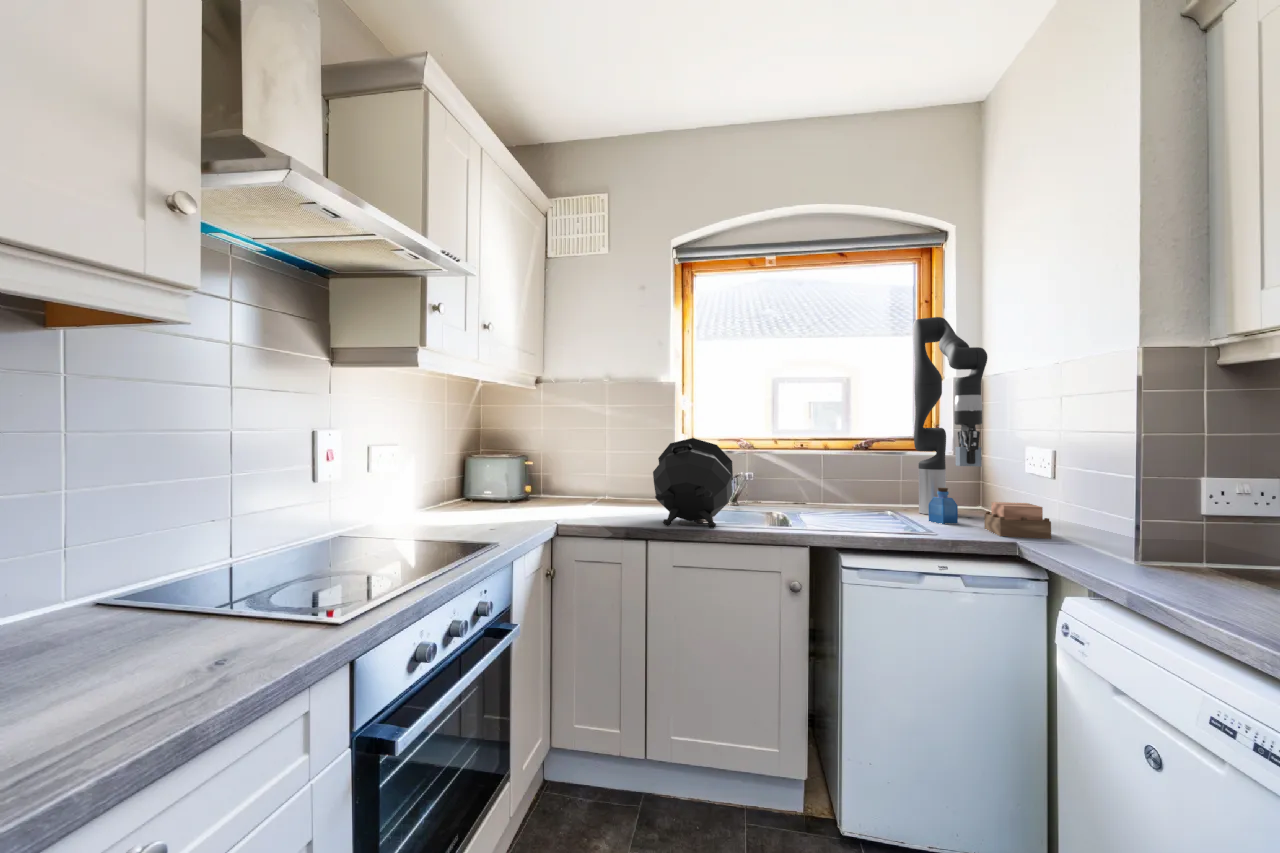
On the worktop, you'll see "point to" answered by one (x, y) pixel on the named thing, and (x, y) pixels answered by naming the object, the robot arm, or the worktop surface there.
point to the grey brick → (962, 457)
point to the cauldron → (693, 480)
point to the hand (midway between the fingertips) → (968, 463)
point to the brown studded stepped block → (1017, 520)
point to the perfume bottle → (943, 508)
